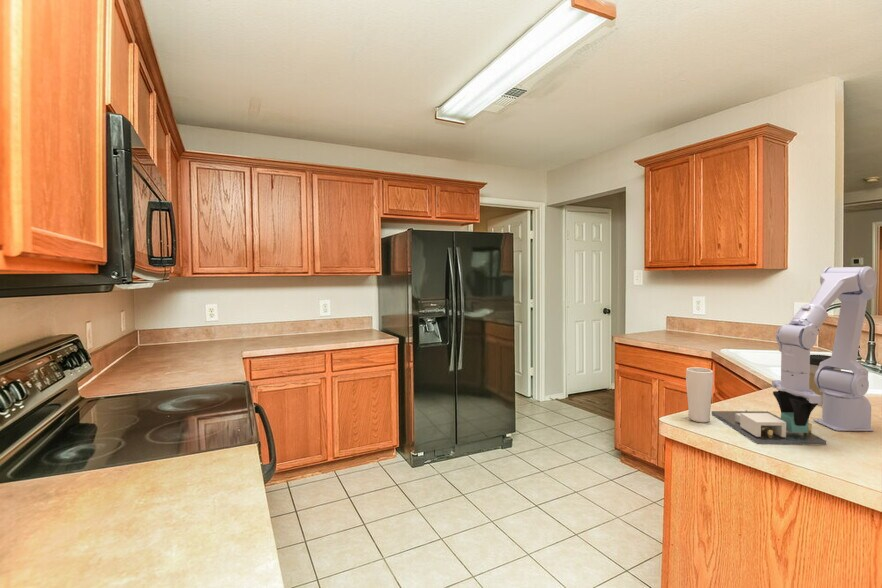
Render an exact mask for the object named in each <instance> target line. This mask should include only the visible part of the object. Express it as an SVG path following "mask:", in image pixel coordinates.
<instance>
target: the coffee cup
mask: <svg viewBox="0 0 882 588" xmlns="http://www.w3.org/2000/svg"><path fill="white" fill-rule="evenodd" d="M831 356H832V355H825V354H810V377H809V389H811V390H812V391H813V392H814V393H816V394H817V395H820V396H821V403H818V404H817V405H816V406H819V407H820V406H821V407H823V392H820V389H819V388H818V387H817V386H816V384H815V381H814V376H815V373H816V371H817V370H818V368H819V364H820V362H822V361H824V360H826V359H829V358H831ZM835 370H840V371H842V369H839V368H835Z"/></svg>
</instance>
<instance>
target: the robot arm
mask: <svg viewBox="0 0 882 588" xmlns="http://www.w3.org/2000/svg"><path fill="white" fill-rule="evenodd" d="M819 283H820V287H819V288H818V290H817V291H816V293H815V295H814V296H813V298H812V300H811V302H810V303H806V304H803V305H802V306H801V307H800V308H799V309H798V311H797V312H796V314H795V315H794V316H793V317H792V319H791V320H790V321H789V323H788V324H787V323H786V324H784V325H781V326H780V327H778V329H777V332H776V335H775V340H776V342H777V344H778V350H779V352H780V354H781V355H780V356H781V358H780V360H781V361H780V363H781V364H780V380H779V379H778V380H777V379H773V380H772V381H771V388H772V389H773V388H774V389H776V390H775V391H772V395H773V396H774V398H775V399H776V402H777V404H778V405H779V409H780V413H781V412H794V421H795V425H797V426H806V423H807V421H808V418H809V419H810V416H811V414H812V412H813V410H814V409H815V408H816V407H817V406H818V405H817V404H818V403H821V396H820V395H817V394H816V393H814V392H813V391H812V390H811V389H809V377H810V355H811V349H812V348H813V347H814V346H815V345H816V343H817V337H818V335H819V329H820V328H821V326H822V325H823V323H824V322H825V321H826V319H827V318H828V316H829V315H828V311H827V309H828V308H830V306H831V305H832V304H833V303H834V302H835V301H836V300H837V299H838V300H839V301H840V308H839V314H838V320H837V324H836V330H835V336H834V342H833V347H832V352H831V355H830V356H831V358H829V359H826V360H824V361H822V362H820V364H819V368H818V370H817V371H816V373H815V376H814V381H815V384H816V386H817V387H818V388H819V389H820V392H823V406H821V407H822V411H821V413H822V414H821V418H814V419H813V421H814V422H815V423H818V424H819V425H820V424H821V425H823V426H825V427H826V428H828V429H831V430H834V431H838V432H839V431H840V432H841V431H843V432H844V431H845V432H846V431H847V432H852V431H853V432H873V431H874V428H872V427H871V426H872V424H871V423H872V405H871V402H870V400H869V399H868V398H867V397H866V396H865V395H866V394H867V392H868V390H869V386H870V384H869V382H870V381H869V371H868V369H867V368H866V367H864V366H863V365H862V364H861V363H859V362H858V361H857V359H858V354H859V348H860V343H861V338H862V332H863V326H864V320H865V316H866V315H865V314H866V312H867V311H866V310H867V304H868V301H869V300H872V299H874V297H875V296H874V295H875V294H876V289H877V288H876V287H877V283H878V275H877V274H876V272H875V270H874V269H873V267H871V266H868V265H867V266H851V267H849V266H845V267H844V266H842V267H841V266H839V267H836V266H827V267H825V268H824V269H823V271H822V272H821V274H820V276H819ZM835 368H839V369H841V371H840V370H835ZM844 370H845V371H844Z"/></svg>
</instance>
